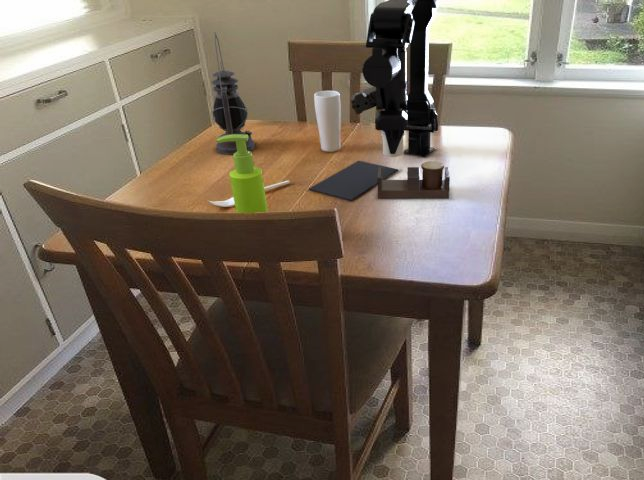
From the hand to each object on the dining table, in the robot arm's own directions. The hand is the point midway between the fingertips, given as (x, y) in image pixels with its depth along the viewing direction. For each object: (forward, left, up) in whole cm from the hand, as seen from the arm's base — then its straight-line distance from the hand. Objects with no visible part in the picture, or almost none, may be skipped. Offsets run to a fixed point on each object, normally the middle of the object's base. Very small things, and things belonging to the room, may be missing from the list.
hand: (393, 149), depth 115 cm
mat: (-2, -12, -10) cm, 16 cm away
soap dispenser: (+30, -14, -10) cm, 35 cm away
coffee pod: (0, 0, -1) cm, 1 cm away
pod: (-4, +7, -8) cm, 12 cm away
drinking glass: (-16, -30, -10) cm, 35 cm away
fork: (+17, -27, -10) cm, 33 cm away
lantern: (-4, -54, -10) cm, 55 cm away
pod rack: (-2, +4, -10) cm, 11 cm away
